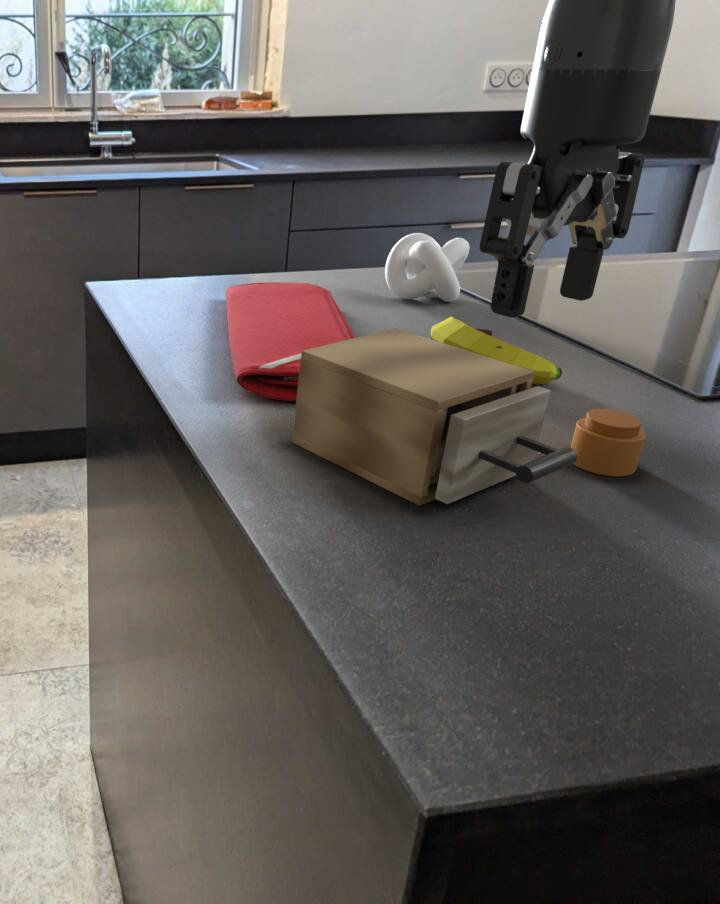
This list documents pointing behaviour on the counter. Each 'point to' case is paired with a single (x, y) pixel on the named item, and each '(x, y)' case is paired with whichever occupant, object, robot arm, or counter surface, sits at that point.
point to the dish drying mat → (279, 333)
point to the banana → (493, 348)
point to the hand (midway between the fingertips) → (541, 306)
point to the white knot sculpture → (425, 266)
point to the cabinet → (390, 404)
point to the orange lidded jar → (608, 442)
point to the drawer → (494, 443)
